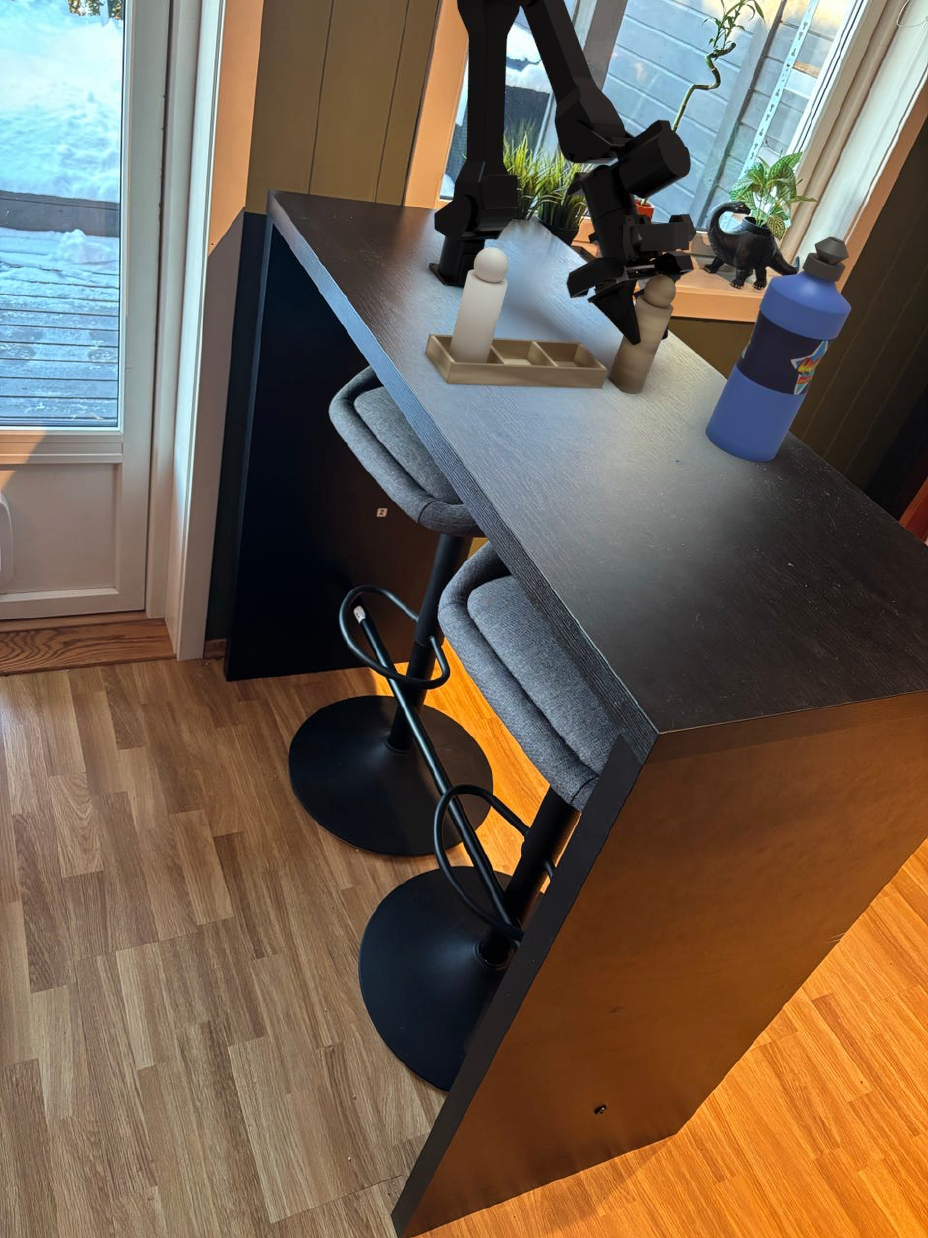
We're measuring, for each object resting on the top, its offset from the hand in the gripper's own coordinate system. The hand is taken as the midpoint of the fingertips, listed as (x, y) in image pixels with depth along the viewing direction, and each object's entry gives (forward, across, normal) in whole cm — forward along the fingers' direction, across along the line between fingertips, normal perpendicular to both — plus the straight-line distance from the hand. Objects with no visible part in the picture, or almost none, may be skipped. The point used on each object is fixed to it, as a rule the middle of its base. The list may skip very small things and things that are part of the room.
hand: (650, 341), depth 118 cm
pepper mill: (+4, 0, +6) cm, 7 cm away
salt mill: (-3, -21, +11) cm, 24 cm away
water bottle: (+15, +4, -6) cm, 17 cm away
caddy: (-1, -15, +10) cm, 18 cm away
